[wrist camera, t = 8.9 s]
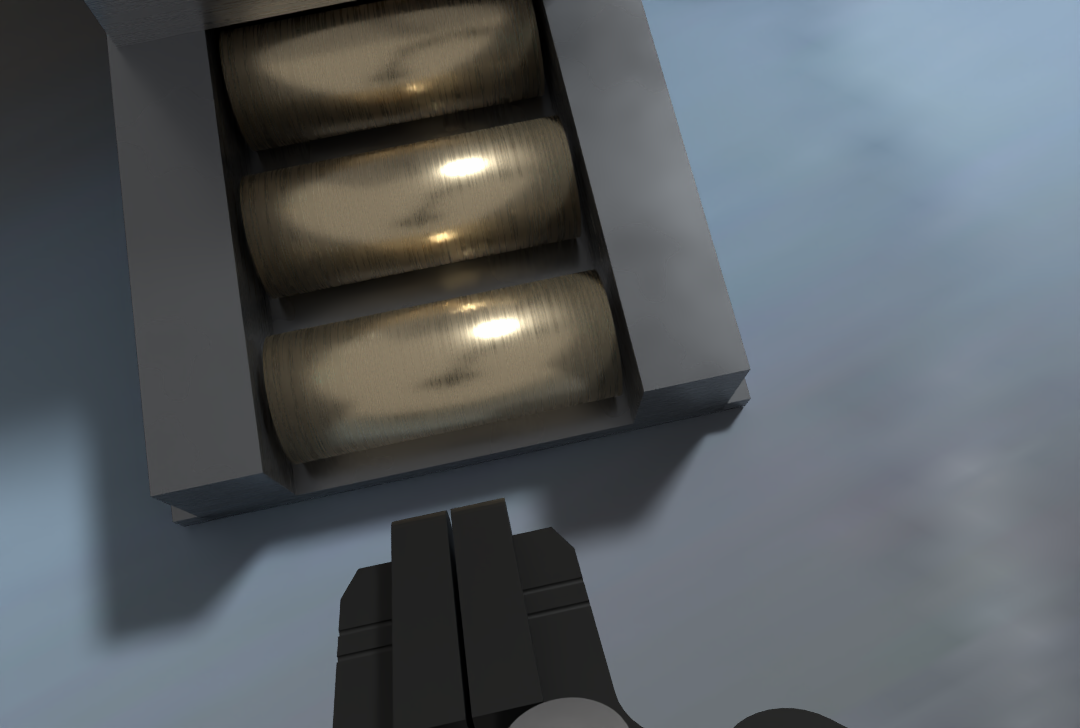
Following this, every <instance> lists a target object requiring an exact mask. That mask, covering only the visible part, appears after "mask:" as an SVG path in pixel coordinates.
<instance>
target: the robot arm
mask: <svg viewBox="0 0 1080 728" xmlns="http://www.w3.org/2000/svg"><path fill="white" fill-rule="evenodd" d="M451 520H452V526H451V522H450V518H449V515H448V512H447V510H446V511H441V512H436V513H432V514H427V515H422V516H418V517H413V518H408V519H403V520H399V521H394V522H392V525H391V556H392V562H388V563H384V564H379V565H374V566H370V567H365V568H360V569H358V570H357V572H356V574H355V576H354V577H353V579H352V581H351V582H350V584H349V586H348V588H347V589H346V591H345V593H344V594H343V596H342V598H341V601H340V617H339V634H340V636H339V637H338V650H337V657H338V663H337V667H336V683H335V699H334V716H333V728H643V727H641V726H640V725H639V724H637V723H636V722H635V721H633V720H632V719H631V718H630V717H629V716H628V715H627V713H626V712H625V711H624V710H623V708H622V707H621V705H620V703H619V702H618V699H617V696H616V694H615V691H614V687H613V684H612V680H611V677H610V673H609V669H608V666H607V662H606V659H605V655H604V652H603V648H602V645H601V641H600V638H599V634H598V631H597V627H596V624H595V620H594V616H593V613H592V609H591V606H590V603H589V599H588V595H587V592H586V588H585V585H584V582H583V578H582V574H581V571H580V567H579V563H578V560H577V556H576V553H575V549H574V548H573V547H572V546H571V545H570V544H569V543H568V542H567V541H566V540H565V539H564V538H563V537H562V536H561V535H559V534H558V533H557V532H556V531H555V530H554V529H553V528H552V527H549V528H545V529H540V530H535V531H531V532H526V533H521V534H517V535H512V531H511V526H510V521H509V517H508V512H507V507H506V503H505V498H501V499H496V500H491V501H487V502H482V503H477V504H473V505H468V506H463V507H459V508H454V509H451ZM452 529H453V530H452ZM734 728H847V727H845V726H843V725H841V724H839V723H837V722H835V721H833V720H831V719H829V718H827V717H824V716H822V715H820V714H817V713H814V712H810V711H807V710H801V709H794V708H779V709H771V710H766V711H762V712H759V713H756V714H754V715H752V716H749V717H747V718H746V719H744V720H743V721H741V722H740V723H738V724H737V725H736V726H735V727H734Z"/></svg>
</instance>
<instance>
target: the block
mask: <svg viewBox="0 0 1080 728" xmlns="http://www.w3.org/2000/svg"><path fill="white" fill-rule="evenodd" d="M84 1H85V3H86V4H87V6H88V7H89V9H90V10H91V11H92V13H93V14H94V16H95V17H96V19H97V20H98V21H99V23H100V24H101V26H102V27H103V29H104V30H105V31H106V33H107V34H108V36H109V37H110V39H111V40H112V42H113V43H114V44H115V46H116V47H121V46H126V45H131V44H136V43H141V42H146V41H151V40H156V39H161V38H166V37H171V36H176V35H182V34H187V33H192V32H197V31H202V30H207V29H212V28H217V27H222V26H227V25H232V24H237V23H242V22H247V21H252V20H258V19H263V18H268V17H273V16H278V15H283V14H288V13H293V12H298V11H303V10H308V9H313V8H318V7H323V6H328V5H334V4H339V3H344V2H349V1H354V0H84Z"/></svg>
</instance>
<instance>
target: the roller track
mask: <svg viewBox="0 0 1080 728" xmlns="http://www.w3.org/2000/svg"><path fill="white" fill-rule="evenodd" d="M106 34H107V33H106ZM107 44H108V55H109V65H110V76H111V86H112V97H113V107H114V118H115V128H116V139H117V149H118V160H119V170H120V181H121V191H122V202H123V212H124V223H125V233H126V244H127V254H128V265H129V275H130V286H131V296H132V307H133V317H134V328H135V338H136V349H137V359H138V370H139V380H140V391H141V401H142V412H143V422H144V433H145V443H146V454H147V464H148V475H149V485H150V495H151V497H153V498H155V499H158V500H160V501H162V502H165V503H167V504H169V505H171V509H172V519H173V522H174V523H177V524H179V525H182V526H187V525H192V524H196V523H201V522H206V521H210V520H215V519H220V518H224V517H229V516H234V515H238V514H243V513H248V512H252V511H257V510H262V509H266V508H271V507H276V506H280V505H285V504H290V503H294V502H299V501H304V500H308V499H313V498H318V497H322V496H327V495H332V494H336V493H341V492H346V491H350V490H355V489H360V488H364V487H369V486H374V485H378V484H383V483H388V482H392V481H397V480H401V479H406V478H411V477H415V476H420V475H425V474H429V473H434V472H439V471H443V470H448V469H453V468H457V467H462V466H467V465H471V464H476V463H481V462H485V461H490V460H495V459H499V458H504V457H509V456H513V455H518V454H523V453H527V452H532V451H537V450H541V449H546V448H551V447H555V446H560V445H565V444H569V443H574V442H579V441H583V440H588V439H593V438H597V437H602V436H607V435H611V434H616V433H621V432H625V431H630V430H635V429H639V428H644V427H649V426H653V425H658V424H663V423H667V422H672V421H677V420H681V419H686V418H691V417H695V416H700V415H705V414H709V413H714V412H719V411H723V410H728V409H733V408H737V407H742V406H745V405H746V404H747V403H748V401H749V400H750V399H751V398H750V395H749V391H748V388H747V384H746V381H745V376H746V375H747V373H748V372H749V370H750V366H749V363H748V360H747V356H746V353H745V350H744V346H743V343H742V339H741V336H740V333H739V329H738V326H737V322H736V319H735V316H734V312H733V309H732V306H731V302H730V299H729V295H728V292H727V289H726V285H725V282H724V278H723V275H722V272H721V268H720V265H719V262H718V258H717V255H716V251H715V248H714V245H713V241H712V238H711V235H710V231H709V228H708V224H707V221H706V218H705V214H704V211H703V207H702V204H701V201H700V197H699V194H698V191H697V187H696V184H695V180H694V177H693V174H692V170H691V167H690V164H689V160H688V157H687V153H686V150H685V147H684V143H683V140H682V136H681V133H680V130H679V126H678V123H677V120H676V116H675V113H674V109H673V106H672V103H671V99H670V96H669V92H668V89H667V86H666V82H665V79H664V76H663V72H662V69H661V65H660V62H659V59H658V55H657V52H656V49H655V45H654V42H653V38H652V35H651V32H650V28H649V25H648V21H647V18H646V15H645V11H644V8H643V5H642V1H641V0H354V1H349V2H344V3H339V4H334V5H328V6H323V7H318V8H313V9H308V10H303V11H298V12H293V13H288V14H283V15H278V16H273V17H268V18H263V19H258V20H252V21H247V22H242V23H237V24H232V25H227V26H222V27H217V28H212V29H207V30H202V31H197V32H192V33H187V34H182V35H176V36H171V37H166V38H161V39H156V40H151V41H146V42H141V43H136V44H131V45H126V46H121V47H116V46H115V44H114V43H113V42H112V40H111V39H110V37H109V36H108V34H107Z"/></svg>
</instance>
